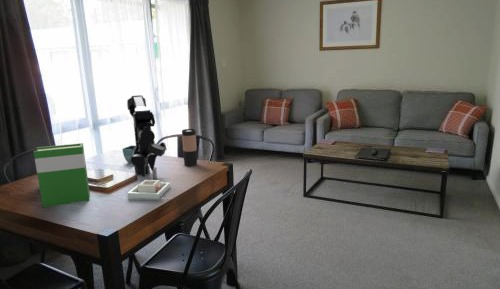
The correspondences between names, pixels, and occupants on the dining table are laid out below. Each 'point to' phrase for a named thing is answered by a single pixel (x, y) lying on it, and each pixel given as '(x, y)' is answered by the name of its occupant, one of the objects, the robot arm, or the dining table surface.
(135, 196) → the tray
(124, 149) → the flower pot
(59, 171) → the hardback book
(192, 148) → the travel mug
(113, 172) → the dining table surface
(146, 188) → the collar
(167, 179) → the stand
